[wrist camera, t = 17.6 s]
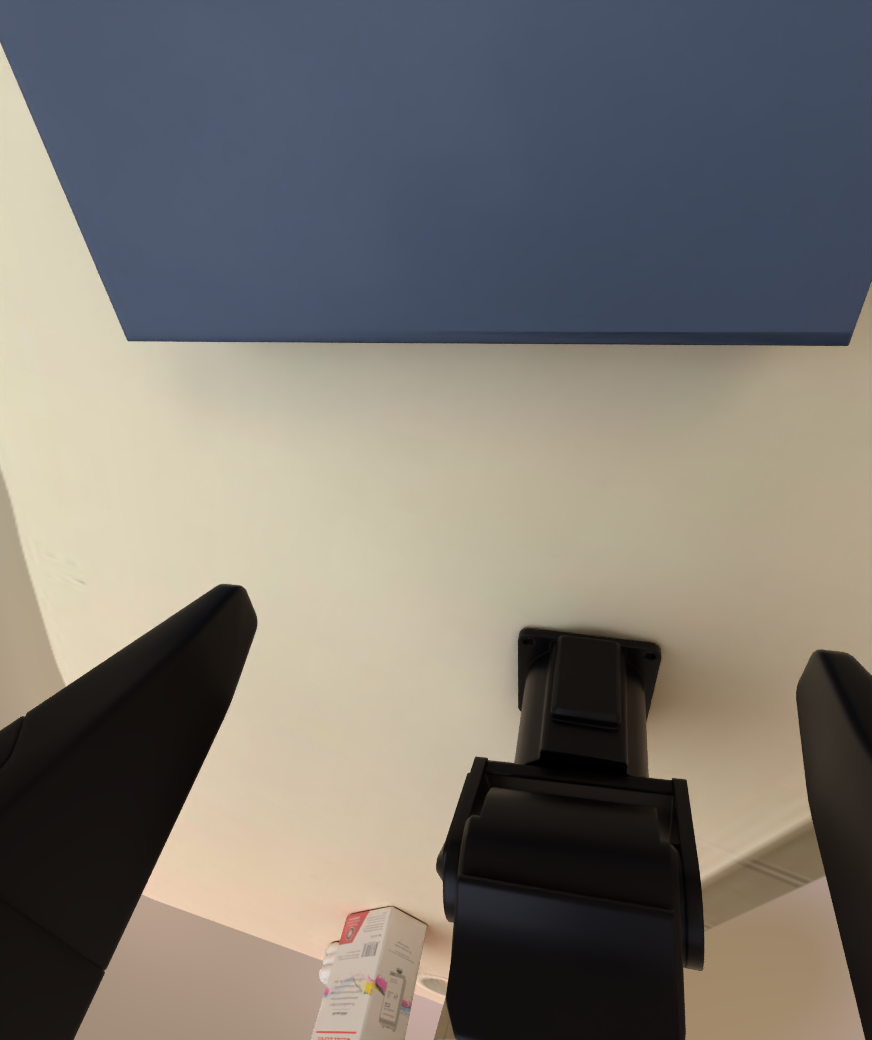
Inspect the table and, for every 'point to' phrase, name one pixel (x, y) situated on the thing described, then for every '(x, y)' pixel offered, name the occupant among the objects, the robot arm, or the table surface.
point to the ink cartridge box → (372, 978)
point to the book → (462, 166)
